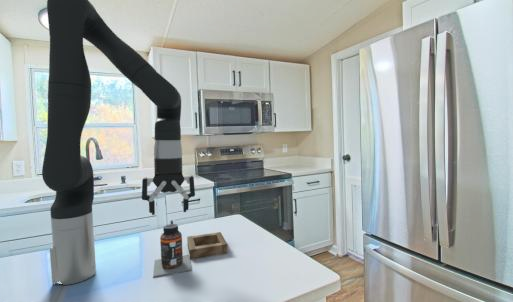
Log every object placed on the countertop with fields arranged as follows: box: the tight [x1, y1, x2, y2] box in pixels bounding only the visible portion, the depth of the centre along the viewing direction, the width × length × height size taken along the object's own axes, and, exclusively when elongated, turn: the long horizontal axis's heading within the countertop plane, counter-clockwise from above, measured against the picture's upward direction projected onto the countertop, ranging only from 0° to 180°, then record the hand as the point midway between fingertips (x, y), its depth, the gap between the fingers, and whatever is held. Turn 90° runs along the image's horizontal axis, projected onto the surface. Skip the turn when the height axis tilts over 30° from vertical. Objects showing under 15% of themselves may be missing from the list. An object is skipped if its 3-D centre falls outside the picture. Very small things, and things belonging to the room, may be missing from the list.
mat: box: [152, 254, 193, 279], centre depth 78 cm, size 10×10×1 cm
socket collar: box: [186, 231, 229, 261], centre depth 89 cm, size 12×12×3 cm
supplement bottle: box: [159, 223, 184, 268], centre depth 78 cm, size 6×6×11 cm
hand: (169, 212), depth 77 cm, fingers open, 8 cm apart
